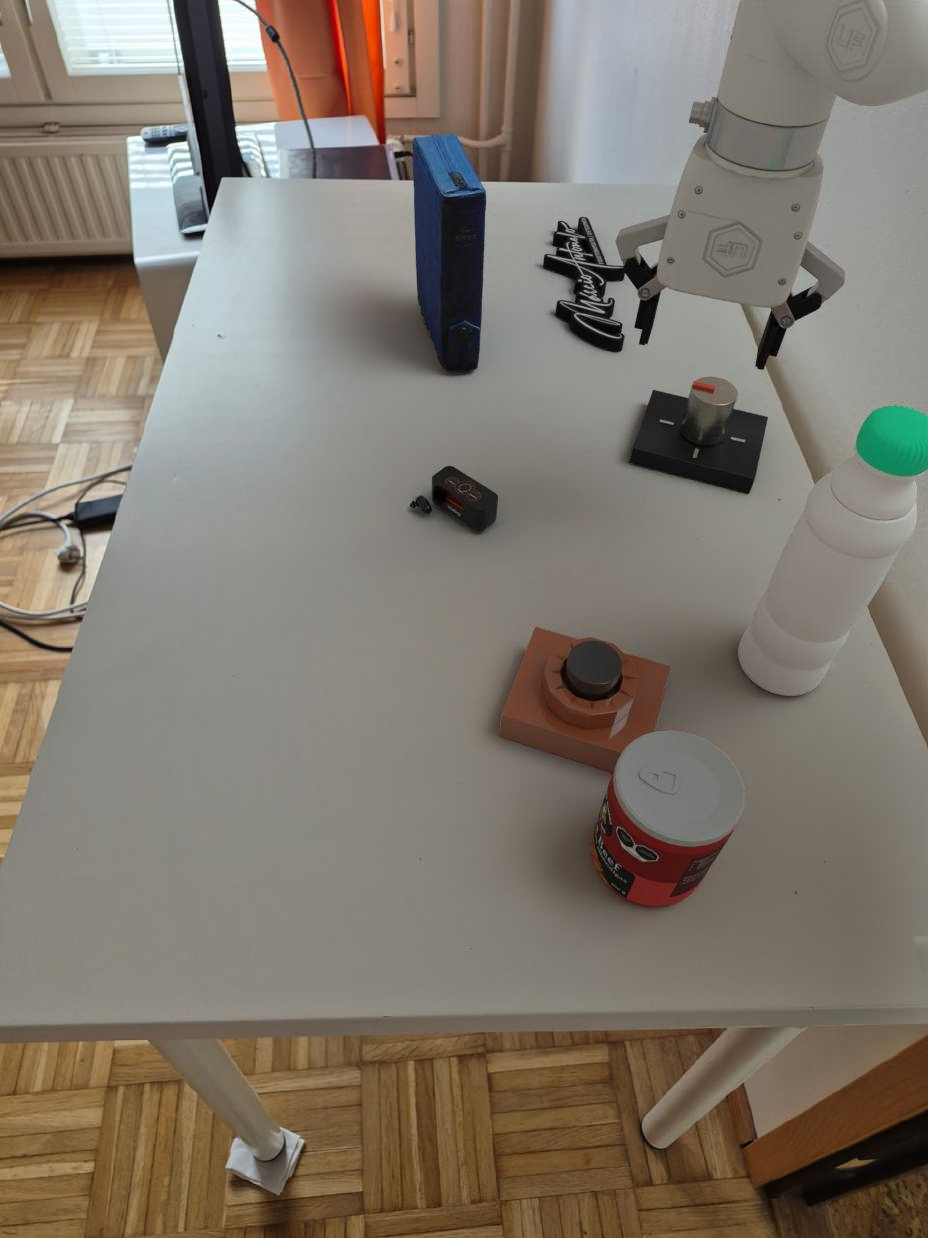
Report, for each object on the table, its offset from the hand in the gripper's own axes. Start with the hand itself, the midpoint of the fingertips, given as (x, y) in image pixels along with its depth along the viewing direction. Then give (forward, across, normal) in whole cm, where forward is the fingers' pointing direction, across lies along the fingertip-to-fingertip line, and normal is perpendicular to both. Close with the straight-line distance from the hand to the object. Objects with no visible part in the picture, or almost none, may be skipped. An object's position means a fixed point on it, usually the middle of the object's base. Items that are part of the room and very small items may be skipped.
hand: (702, 347), depth 74 cm
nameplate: (+16, -14, +33) cm, 39 cm away
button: (+11, -2, -28) cm, 30 cm away
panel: (+16, +2, +7) cm, 18 cm away
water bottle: (+16, +13, -18) cm, 27 cm away
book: (+16, -27, +16) cm, 36 cm away
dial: (+14, +2, +7) cm, 16 cm away
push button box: (+16, -2, -28) cm, 32 cm away
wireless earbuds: (+16, -18, -10) cm, 26 cm away
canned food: (+16, +5, -38) cm, 42 cm away
